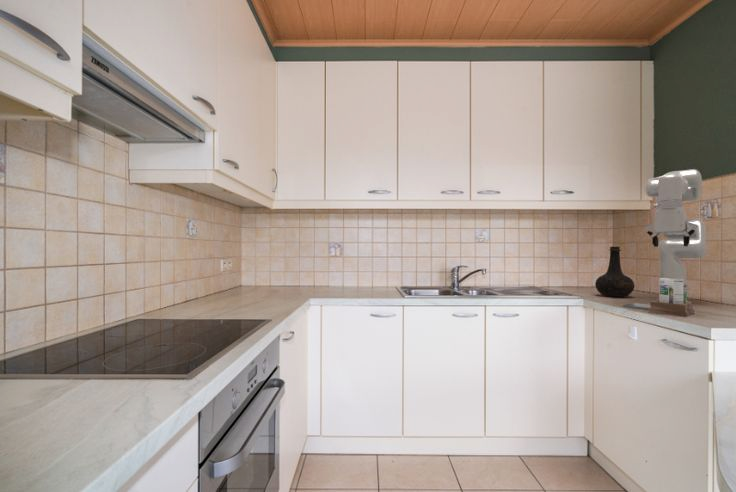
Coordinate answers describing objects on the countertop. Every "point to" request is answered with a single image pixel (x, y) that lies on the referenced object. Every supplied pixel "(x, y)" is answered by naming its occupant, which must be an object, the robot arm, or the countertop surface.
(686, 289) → the food container
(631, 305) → the plate
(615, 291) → the glass bottle
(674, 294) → the syrup box
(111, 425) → the countertop surface
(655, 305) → the socket
